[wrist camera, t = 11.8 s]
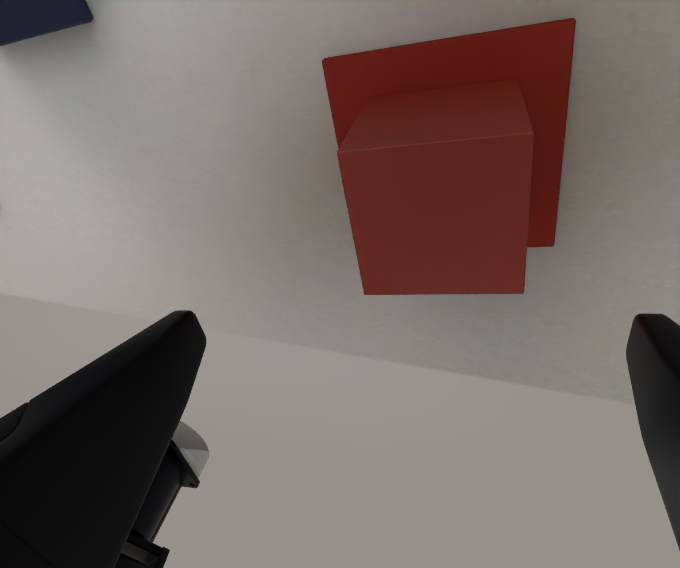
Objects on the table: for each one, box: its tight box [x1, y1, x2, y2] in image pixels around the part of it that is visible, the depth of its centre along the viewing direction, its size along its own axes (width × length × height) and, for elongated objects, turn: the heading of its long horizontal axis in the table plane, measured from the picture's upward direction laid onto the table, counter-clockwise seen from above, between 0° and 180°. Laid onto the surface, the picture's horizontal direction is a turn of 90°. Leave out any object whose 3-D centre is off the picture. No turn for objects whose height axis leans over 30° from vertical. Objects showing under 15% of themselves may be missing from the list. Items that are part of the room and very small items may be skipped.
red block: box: [337, 78, 534, 295], centre depth 15 cm, size 5×5×5 cm
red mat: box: [322, 18, 576, 247], centre depth 17 cm, size 8×8×1 cm
